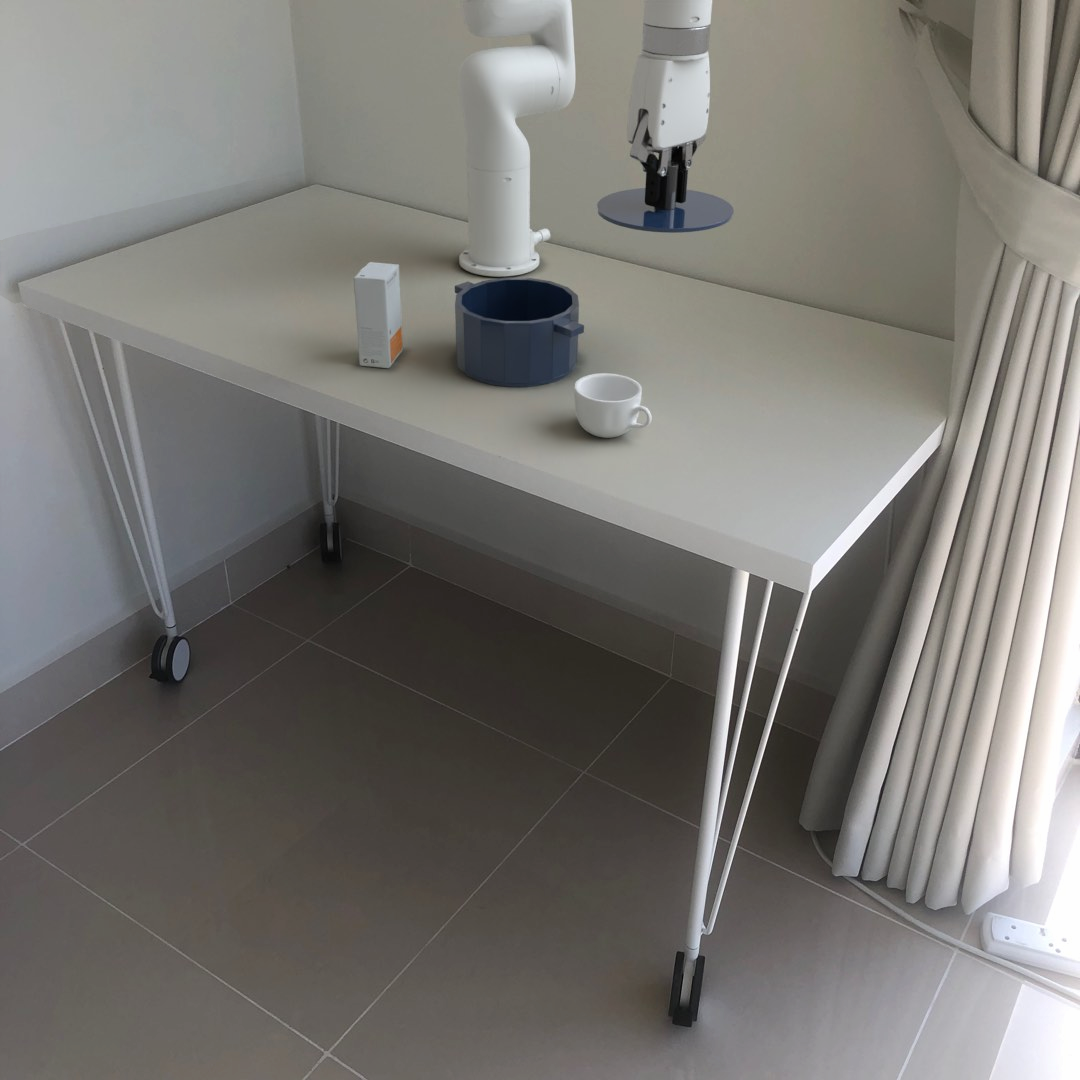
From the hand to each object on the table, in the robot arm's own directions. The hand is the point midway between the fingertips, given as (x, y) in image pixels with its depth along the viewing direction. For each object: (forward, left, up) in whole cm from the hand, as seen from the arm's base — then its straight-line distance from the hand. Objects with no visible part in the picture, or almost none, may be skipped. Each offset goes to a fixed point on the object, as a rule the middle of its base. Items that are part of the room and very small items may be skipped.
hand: (665, 202), depth 141 cm
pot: (+13, -13, -21) cm, 28 cm away
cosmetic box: (+25, -26, -21) cm, 41 cm away
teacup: (+19, +9, -21) cm, 30 cm away
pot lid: (0, 0, -1) cm, 1 cm away
